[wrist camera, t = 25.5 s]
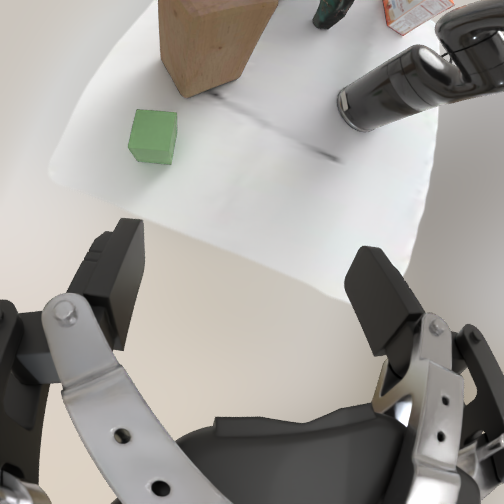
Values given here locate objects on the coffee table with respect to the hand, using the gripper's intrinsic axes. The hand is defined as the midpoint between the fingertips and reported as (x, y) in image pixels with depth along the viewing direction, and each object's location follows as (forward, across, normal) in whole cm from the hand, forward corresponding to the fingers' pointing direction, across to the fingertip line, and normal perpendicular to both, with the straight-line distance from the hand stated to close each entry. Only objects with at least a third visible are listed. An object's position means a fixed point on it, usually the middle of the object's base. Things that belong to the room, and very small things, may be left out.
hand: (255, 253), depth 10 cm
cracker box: (+60, -36, -38) cm, 80 cm away
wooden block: (+39, +6, -7) cm, 40 cm away
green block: (+31, +10, +5) cm, 33 cm away
